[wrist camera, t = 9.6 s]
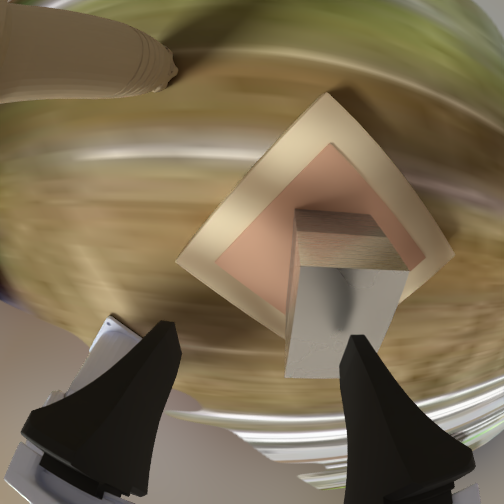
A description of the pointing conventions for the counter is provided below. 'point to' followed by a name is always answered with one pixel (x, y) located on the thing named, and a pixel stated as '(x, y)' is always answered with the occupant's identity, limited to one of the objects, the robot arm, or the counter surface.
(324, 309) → the block
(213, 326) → the counter surface
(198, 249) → the stand
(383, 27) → the counter surface
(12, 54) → the handle
